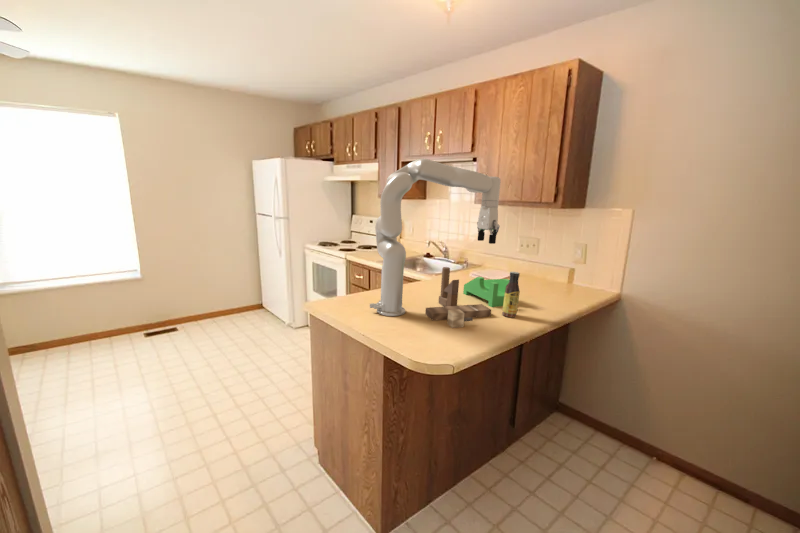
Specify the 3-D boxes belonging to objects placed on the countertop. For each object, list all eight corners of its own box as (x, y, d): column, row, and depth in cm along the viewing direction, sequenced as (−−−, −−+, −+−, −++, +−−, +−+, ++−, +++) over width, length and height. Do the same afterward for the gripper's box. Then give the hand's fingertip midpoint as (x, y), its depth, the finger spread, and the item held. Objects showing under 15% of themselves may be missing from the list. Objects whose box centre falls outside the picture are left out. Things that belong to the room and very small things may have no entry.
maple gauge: (452, 328, 141) (453, 313, 140) (447, 324, 145) (448, 310, 144) (474, 326, 144) (475, 312, 143) (468, 322, 148) (470, 308, 147)
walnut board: (432, 320, 148) (433, 313, 148) (425, 314, 156) (425, 307, 155) (490, 316, 157) (491, 309, 156) (481, 310, 164) (481, 303, 164)
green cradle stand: (513, 305, 175) (515, 282, 173) (491, 307, 170) (494, 283, 168) (483, 292, 197) (485, 271, 194) (463, 294, 191) (464, 272, 189)
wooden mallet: (450, 309, 163) (453, 271, 160) (438, 303, 173) (440, 267, 169) (457, 309, 165) (460, 271, 161) (444, 302, 174) (447, 266, 171)
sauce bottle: (508, 318, 155) (513, 274, 151) (498, 314, 160) (503, 271, 156) (519, 317, 158) (525, 273, 154) (509, 312, 163) (514, 270, 159)
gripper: (472, 203, 168) (469, 239, 171) (493, 205, 152) (489, 244, 155) (486, 204, 170) (483, 239, 174) (508, 205, 154) (504, 244, 158)
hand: (486, 241), depth 165 cm, fingers open, 9 cm apart
